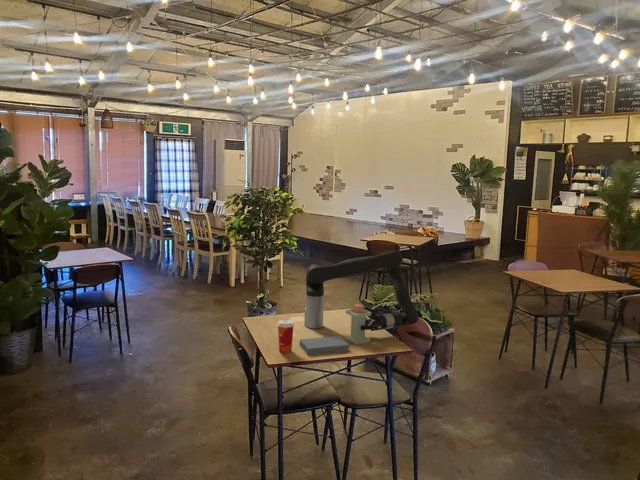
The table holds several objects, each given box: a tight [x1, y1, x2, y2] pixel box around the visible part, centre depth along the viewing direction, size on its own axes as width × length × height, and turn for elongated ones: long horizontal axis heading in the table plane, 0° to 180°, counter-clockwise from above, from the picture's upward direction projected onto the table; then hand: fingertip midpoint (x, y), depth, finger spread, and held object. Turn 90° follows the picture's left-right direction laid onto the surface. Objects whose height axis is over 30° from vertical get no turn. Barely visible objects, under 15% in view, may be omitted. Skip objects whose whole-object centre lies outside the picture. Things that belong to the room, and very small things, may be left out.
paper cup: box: [277, 319, 295, 355], centre depth 231 cm, size 8×8×14 cm
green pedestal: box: [344, 308, 372, 345], centre depth 249 cm, size 9×9×15 cm
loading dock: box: [299, 335, 350, 356], centre depth 237 cm, size 20×13×3 cm, turn 108°
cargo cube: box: [352, 303, 365, 314], centre depth 248 cm, size 4×4×4 cm
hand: (356, 325), depth 249 cm, fingers open, 8 cm apart
